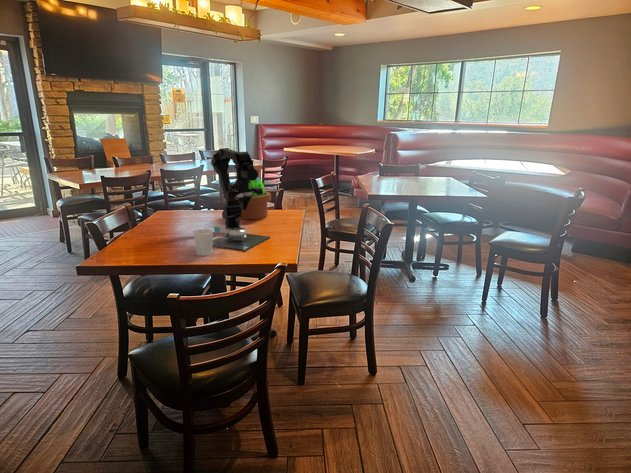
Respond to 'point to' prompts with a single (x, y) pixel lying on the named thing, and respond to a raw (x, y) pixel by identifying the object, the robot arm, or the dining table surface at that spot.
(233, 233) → the teal-tipped lever
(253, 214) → the potted cactus
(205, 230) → the white cup
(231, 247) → the lock base
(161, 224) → the dining table surface
